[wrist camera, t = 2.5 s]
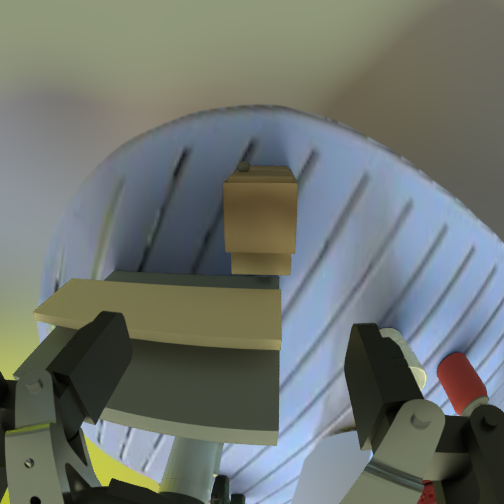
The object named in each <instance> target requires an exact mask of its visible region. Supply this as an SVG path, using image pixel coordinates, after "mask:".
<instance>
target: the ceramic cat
mask: <svg viewBox="0 0 504 504" xmlns="http://www.w3.org/2000/svg"><path fill="white" fill-rule="evenodd" d="M227 503H241V504H245V497H244V496H243V495H239V494H235V495H231V501H230V499H229V479H228V478H227V477H226V476H216V478H215V482H214V485H213V489H212V493H211V503H210V504H227Z"/></svg>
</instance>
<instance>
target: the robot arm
mask: <svg viewBox="0 0 504 504" xmlns="http://www.w3.org/2000/svg"><path fill="white" fill-rule="evenodd" d="M132 354H133V349H132V344H131V340H130V337H129V333H128V329H127V325H126V321H125V318H124V315H123V314H122V313H120V312H111V311H101V312H100V313H99V314H98V315H97V317H96V318H95V319H94V320H93V321H92V322H90V323H88V324H86V325H85V326H83V327H82V328H80V329H79V330H78V331H77V332H76V333H75V335H74V336H73V337H72V339H70V340H69V342H68V343H67V344H66V346H64V347H63V349H62V350H61V351H60V352H59V353H58V355H57V356H56V357H55V358H54V359H53V361H52V362H51V363H50V364H49V365H48V367H47V368H46V369H45V370H43V369H34V370H30V371H28V372H26V373H25V374H23V375H22V376H21V377H20V378H19V380H5V379H4V377H3V375H2V373H1V372H0V502H1V500H2V498H3V496H4V493H5V491H6V489H7V487H8V491H9V498H10V504H208V502H209V497H210V491H211V486H212V481H213V477H215V476H217V475H218V473H219V467H220V462H221V456H222V450H223V445H224V443H223V442H213V441H205V440H197V439H190V438H183V437H177V436H175V439H174V442H173V446H172V449H171V452H170V455H169V459H168V462H167V465H166V468H165V472H164V475H163V478H162V482H161V485H160V488H159V492H158V493H156V492H154V491H152V490H150V489H148V488H144V487H140V486H137V485H133V484H129V483H126V482H123V481H119V480H116V479H113V478H112V479H111V481H110V484H109V486H101V484H100V482H99V480H98V479H97V477H96V475H95V473H94V470H93V467H92V464H91V460H90V457H89V454H88V450H87V446H86V442H85V438H84V434H83V431H82V429H81V427H80V426H81V424H82V423H83V421H84V422H87V423H90V424H93V425H96V423H97V421H98V419H99V418H100V416H101V414H102V412H103V410H104V408H105V407H106V405H107V403H108V401H109V399H110V397H111V396H112V394H113V392H114V390H115V388H116V387H117V385H118V383H119V381H120V380H121V378H122V376H123V374H124V373H125V371H126V369H127V367H128V366H129V364H130V362H131V359H132ZM404 357H405V356H404V354H403V352H402V350H401V348H400V346H399V345H398V344H397V343H396V342H395V341H393V340H392V339H391V338H390V337H382V335H381V333H380V331H379V329H378V327H377V325H376V323H358V324H353V326H352V329H351V333H350V338H349V343H348V348H347V352H346V357H345V364H344V371H345V378H346V382H347V386H348V391H349V395H350V400H351V404H352V409H353V414H354V419H355V423H356V428H357V433H358V438H359V444H360V449H361V451H362V450H371V449H372V451H373V457H372V459H371V460H370V462H369V463H368V464H367V466H366V467H365V469H364V470H363V472H362V473H361V475H360V476H359V477H358V479H357V480H356V482H355V483H354V485H353V486H352V487H351V489H350V490H349V492H348V493H347V494H346V496H345V497H344V498H343V499H342V501H341V502H340V504H417V502H418V500H419V498H420V496H421V494H422V492H423V489H424V484H422V480H432V482H433V487H434V492H435V497H436V502H437V504H504V412H503V411H502V410H501V409H499V408H498V407H496V406H493V405H489V404H484V405H480V406H478V407H476V408H475V409H474V410H473V411H472V413H471V414H470V416H469V417H464V416H449V415H444V413H443V411H442V410H441V408H440V407H439V406H438V405H436V404H435V403H433V402H431V401H428V400H424V398H423V395H422V393H421V391H420V388H419V386H418V384H417V382H416V380H415V377H414V375H413V373H412V371H411V369H410V367H409V365H408V363H407V360H406V359H405V358H404ZM227 504H241V503H227Z"/></svg>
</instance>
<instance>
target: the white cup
mask: <svg viewBox="0 0 504 504" xmlns="http://www.w3.org/2000/svg"><path fill="white" fill-rule="evenodd" d="M379 331H380V333H381V335H382V337H390V338H391V339H392V340H393V341H395V342H396V343H397V344H398V345H399V346H400V348H401V350H402V352H403V354H404V356H405V357H404V358H405V359H406V360H407V363H408V365H409V367H410V369H411V371H412V373H413V375H414V377H415V380H416V382H417V384H418V386H419V388H420V391H421V390H422V389H423V387H424V386H425V384H426V380H427V375H426V372H425V370H424V369H423V367H422V365H421V364H420V362H419V360H418V359H417V357H416V355H415V354H414V352H413V351H412V349H411V348H410V346H409V345H408V343H407V342H406V341H405V340H404V338H403V337H402V335H401V333H400V332H399V331H398V330H396V329H394V328H383V329H380V330H379Z"/></svg>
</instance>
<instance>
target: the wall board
mask: <svg viewBox="0 0 504 504" xmlns="http://www.w3.org/2000/svg"><path fill="white" fill-rule="evenodd" d="M101 311H111V312H120V313H122V314H123V315H124V318H125V321H126V325H127V329H128V333H129V337H130V340H131V344H132V349H133V354H132V359H131V362H130V364H129V366H128V367H127V369H126V371H125V373H124V374H123V376H122V378H121V380H120V381H119V383H118V385H117V387H116V388H115V390H114V392H113V394H112V396H111V397H110V399H109V401H108V403H107V405H106V407H105V408H104V410H103V412H102V414H101V416H100V418H99V419H102V420H105V421H109V422H113V423H116V424H120V425H124V426H128V427H132V428H137V429H141V430H146V431H150V432H155V433H160V434H166V435H171V436H177V437H183V438H190V439H197V440H205V441H213V442H223V443H234V444H248V445H271V446H277V440H278V431H279V350H281V342H282V330H281V290H279V277H251V276H220V275H193V274H170V273H149V272H129V271H113V272H112V273H111V274H110V275H109V276H108V277H107V278H106V279H105V280H104V281H100V280H87V279H76V278H72V279H71V280H70V281H69V282H67V283H66V284H65V285H64V286H62V287H61V288H60V289H59V290H58V291H57V292H55V293H54V294H53V295H52V296H51V297H49V298H48V299H47V300H46V301H45V302H44V303H43V304H41V305H40V306H39V307H38V308H37V309H36V310H35V311H33V314H34V317H35V319H36V321H40V322H44V323H49V324H53V325H58V326H57V327H56V328H55V329H54V330H53V331H52V332H51V333H50V334H49V335H48V336H47V337H46V338H45V340H44V341H43V342H42V343H41V344H40V345H39V346H38V347H37V348H36V349H35V350H34V352H33V353H32V354H31V355H30V356H29V357H28V358H27V359H26V360H25V361H24V363H23V364H22V365H21V366H20V367H19V368H18V369H17V370H16V372H15V373H14V374H13V376H14V378H15V380H19V378H20V377H21V376H22V375H23V374H25V373H26V372H28V371H30V370H34V369H43V370H45V369H46V368H47V367H48V365H49V364H50V363H51V362H52V361H53V359H54V358H55V357H56V356H57V355H58V353H59V352H60V351H61V350H62V349H63V347H64V346H66V344H67V343H68V342H69V340H70V339H72V337H73V336H74V335H75V333H76V332H77V331H78V330H79V329H80V328H82V327H83V326H85V325H86V324H88V323H90V322H92V321H93V320H94V319H95V318H96V317H97V315H98V314H99V313H100V312H101Z"/></svg>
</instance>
